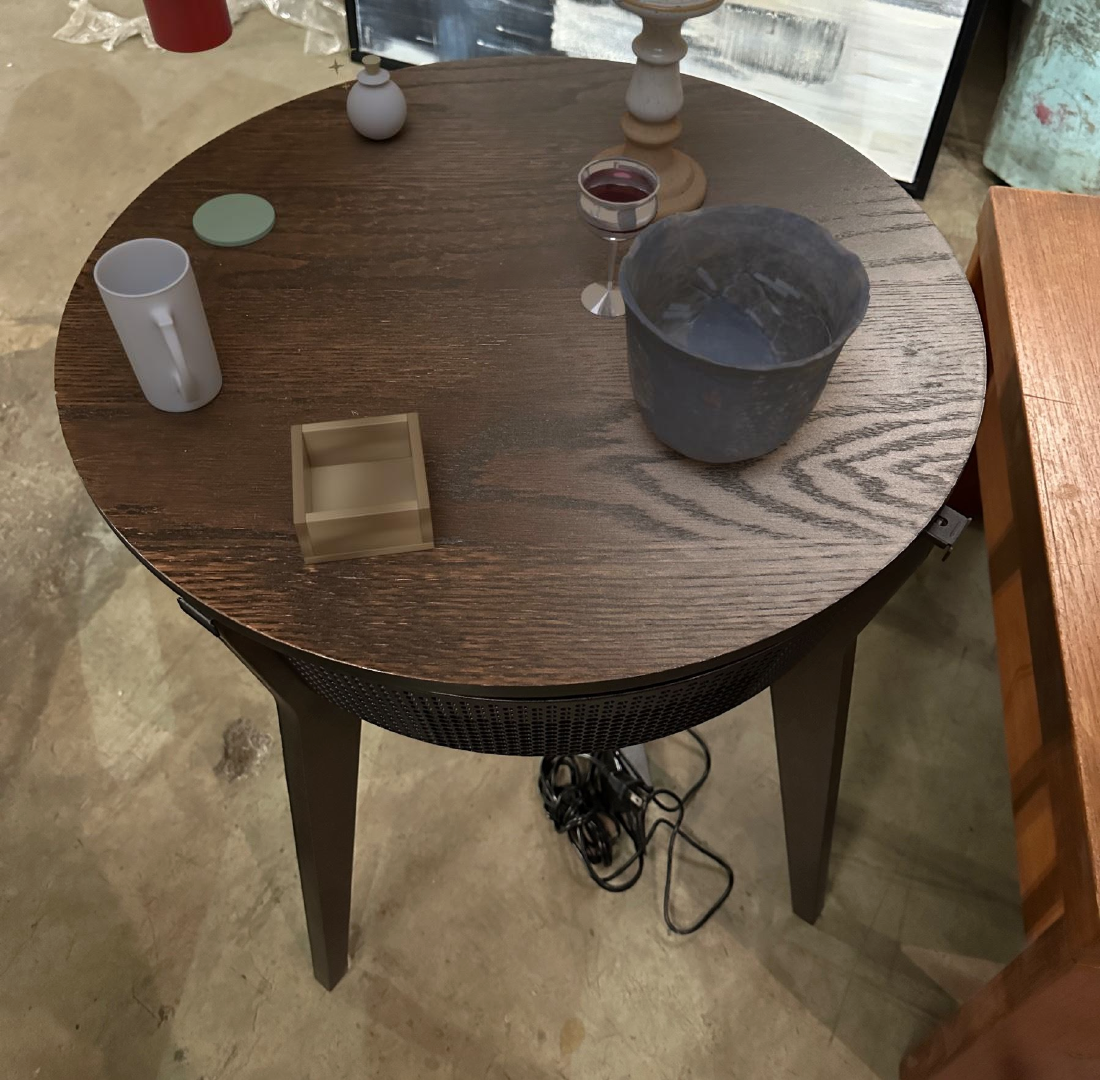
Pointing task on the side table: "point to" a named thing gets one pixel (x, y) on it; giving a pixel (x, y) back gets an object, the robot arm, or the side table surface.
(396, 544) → the holder
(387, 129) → the ornament
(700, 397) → the dark grey metal pot
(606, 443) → the side table surface
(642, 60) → the candle holder
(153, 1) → the can
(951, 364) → the side table surface
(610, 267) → the wineglass
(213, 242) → the coaster
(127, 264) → the mug
